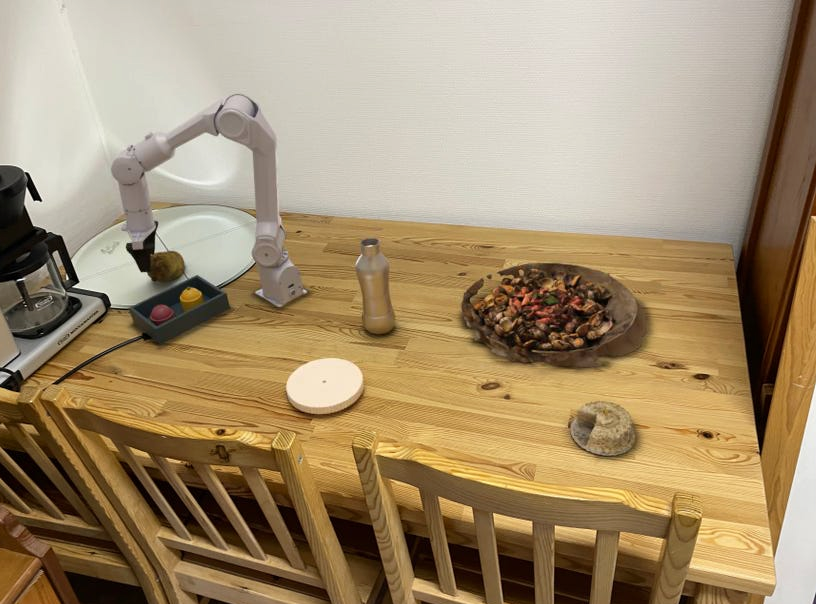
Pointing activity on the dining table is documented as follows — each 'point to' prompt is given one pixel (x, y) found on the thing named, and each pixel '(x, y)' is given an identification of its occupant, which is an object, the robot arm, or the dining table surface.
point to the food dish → (556, 315)
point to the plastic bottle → (375, 287)
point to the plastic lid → (325, 385)
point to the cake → (603, 428)
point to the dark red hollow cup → (161, 314)
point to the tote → (180, 309)
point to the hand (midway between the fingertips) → (147, 262)
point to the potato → (166, 266)
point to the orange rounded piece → (191, 298)
